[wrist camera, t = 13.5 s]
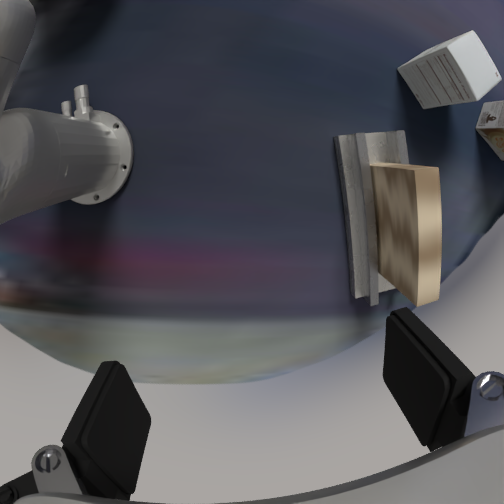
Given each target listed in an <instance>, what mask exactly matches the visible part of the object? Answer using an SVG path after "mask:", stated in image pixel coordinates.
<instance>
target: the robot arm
mask: <svg viewBox="0 0 504 504" xmlns="http://www.w3.org/2000/svg"><path fill="white" fill-rule="evenodd" d="M35 24H36V13H35V10H34V7H33V6H32V4H31V3H30V2H29V0H0V224H2V223H4V222H6V221H8V220H11V219H13V218H15V217H18V216H21V215H23V214H26V213H29V212H32V211H35V210H38V209H41V208H44V207H47V206H50V205H53V204H57V203H60V202H63V201H66V200H69V199H71V200H72V201H74V202H77V203H80V204H87V205H90V204H97V203H100V202H103V201H105V200H107V199H109V198H111V197H112V196H113V195H115V194H116V193H117V192H118V191H119V190H120V189H121V188H122V186H123V185H124V183H125V182H126V180H127V178H128V176H129V174H130V171H131V168H132V164H133V155H134V151H133V143H132V139H131V135H130V133H129V131H128V129H127V127H126V126H125V125H124V124H123V122H122V121H121V120H120V119H118V118H117V117H116V116H114V115H112V114H110V113H107V112H104V111H98V110H93V107H91V106H89V93H88V86H87V85H81V86H78V87H76V88H74V96H75V102H76V108H77V110H75V112H74V114H75V117H72V111H71V110H72V107H71V101H65V102H63V103H62V104H61V108H62V113H63V115H61V114H56V113H51V112H45V111H40V110H35V109H29V108H14V109H9V110H6V111H3V110H4V107H5V104H6V101H7V98H8V95H9V93H10V90H11V87H12V85H13V82H14V79H15V77H16V74H17V72H18V70H19V67H20V64H21V62H22V60H23V57H24V55H25V53H26V51H27V48H28V46H29V43H30V41H31V39H32V36H33V33H34V29H35ZM118 125H119V128H118V129H117V126H118ZM125 165H126V166H127V169H125V168H124V166H125ZM98 195H99V198H98ZM383 379H384V382H385V384H386V385H387V387H388V389H389V390H390V392H391V394H392V395H393V397H394V399H395V400H396V402H397V404H398V405H399V407H400V408H401V410H402V412H403V414H404V415H405V417H406V419H407V421H408V422H409V424H410V426H411V427H412V429H413V431H414V433H415V434H416V436H417V437H418V439H419V441H420V443H421V444H422V445H423V446H426V445H427V447H428V448H429V450H430V452H431V453H428V454H426V455H424V456H422V457H419V458H417V459H414V460H412V461H409V462H407V463H404V464H401V465H399V466H396V467H393V468H391V469H388V470H385V471H382V472H379V473H376V474H373V475H371V476H367V477H364V478H361V479H358V480H354V481H351V482H347V483H344V484H340V485H336V486H332V487H328V488H324V489H320V490H315V491H311V492H306V493H301V494H296V495H290V496H284V497H277V498H271V499H263V500H255V501H246V502H233V503H218V504H504V375H503V374H501V373H499V372H494V371H493V372H485V373H481V374H480V375H479V376H477V377H475V376H474V375H473V373H472V372H471V371H470V370H469V369H468V368H467V367H466V366H465V365H464V364H463V363H462V362H461V361H460V360H459V358H458V357H457V356H456V355H455V354H454V353H453V352H452V351H451V350H450V349H449V348H448V347H447V346H446V345H445V344H444V343H443V342H442V341H441V340H440V339H439V338H438V337H437V336H436V335H435V334H434V333H433V332H432V331H431V330H430V329H429V328H428V327H427V326H426V325H425V324H424V323H423V322H422V321H421V320H420V319H419V318H418V317H417V316H416V315H415V314H413V312H412V311H410V310H409V309H408V308H407V307H404V308H401V309H398V310H394V311H392V312H391V313H390V316H388V317H387V319H386V337H385V353H384V366H383ZM150 426H151V417H150V414H149V412H148V410H147V409H146V407H145V405H144V403H143V401H142V399H141V398H140V396H139V394H138V392H137V390H136V388H135V386H134V384H133V382H132V380H131V378H130V376H129V374H128V372H127V370H126V368H125V366H124V365H122V364H120V363H119V362H118V361H105V362H102V363H101V365H100V367H99V368H98V370H97V372H96V374H95V376H94V378H93V379H92V381H91V383H90V385H89V387H88V388H87V390H86V392H85V394H84V396H83V398H82V400H81V402H80V404H79V405H78V407H77V409H76V411H75V413H74V415H73V417H72V419H71V421H70V423H69V425H68V427H67V429H66V431H65V433H64V435H63V437H62V439H61V442H62V443H63V446H62V448H61V447H59V446H57V445H48V446H44V447H43V448H41V449H39V450H38V451H37V452H36V453H35V455H34V457H33V459H32V471H30V472H28V473H26V474H24V475H22V476H20V477H18V478H16V479H14V480H12V481H10V482H8V483H6V484H4V485H2V486H1V487H0V504H164V503H147V502H135V501H129V500H130V495H131V494H133V493H134V492H135V488H136V484H137V479H138V475H139V470H140V466H141V462H142V458H143V454H144V450H145V445H146V441H147V437H148V433H149V429H150ZM440 447H442V448H440ZM438 448H439V449H438ZM436 449H437V450H436ZM434 450H435V451H434ZM432 451H433V452H432ZM117 499H118V500H117Z"/></svg>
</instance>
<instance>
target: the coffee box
mask: <svg viewBox="0 0 504 504" xmlns="http://www.w3.org/2000/svg"><path fill="white" fill-rule="evenodd" d="M476 130H477V132H478V133H479V134H480V135H481V136H482V137H483V138H484V140H485V141H486V142H487V143H488V144H489V146H490V147H491V148H492V149H493V150H494V152H495V153H496V154H497V155H498V157H499V158H500V159H501V160H502V161H504V101H495V102H486V103H484V104H483V107H482V110H481V113H480V116H479V119H478V122H477V125H476Z"/></svg>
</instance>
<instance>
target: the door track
mask: <svg viewBox="0 0 504 504" xmlns="http://www.w3.org/2000/svg"><path fill="white" fill-rule="evenodd" d="M334 143H335V149H336V155H337V162H338V168H339V176H340V183H341V190H342V198H343V207H344V216H345V225H346V235H347V247H348V259H349V273H350V290H351V294H352V295H353V296H354V297H355V298H359V297H363V298H364V299H365V300H366V301H367V303H368V304H369V305H370V306H373V305H377V304H379V292H383V291H387V290H391V289H395V287H394V286H393V285H392V284H391V283H390V282H389V281H387V280H386V279H385V278H384V277H383V276H382V275H380V274H379V273H378V253H377V234H376V220H375V208H374V197H373V188H372V179H371V171H370V164H376V163H396V164H408V165H409V160H408V152H407V144H406V137H405V131H404V130H400V131H390V132H378V133H355V134H350V135H342V136H335V137H334Z"/></svg>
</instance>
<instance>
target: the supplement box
mask: <svg viewBox="0 0 504 504" xmlns="http://www.w3.org/2000/svg"><path fill="white" fill-rule="evenodd" d="M397 70H398V71H399V73H400V74H401V76H402V77H403V79H404V80H405V82H406V83H407V85H408V86H409V88H410V89H411V91H412V92H413V94H414V95H415V97H416V98H417V100H418V102H419V103H420V105H421V106H422V108H423V109H428V108H434V107H439V106H446V105H452V104H459V103H466V102H473V101H478V100H479V99H481V98H482V97H483V96H484V95H485V94H486V93H487V92H488V91H490V90H491V89H492V88H493V87H494V86H495V85H496V84H497V83H498V82H499V81H501V80H502V78H501V76H500V74H499V72H498V70H497V68H496V66H495V65H494V63H493V61H492V59H491V57H490V56H489V54H488V52H487V51H486V49H485V47H484V46H483V44H482V43H481V41H480V39H479V38H478V36H477V35H476V33H475V32H474V31H473V30H472V31H470V32H467V33H465V34H462V35H460V36H458V37H455V38H453V39H451V40H448V41H446V42H444V43H441V44H439V45H437V46H434V47H432V48H430V49H428V50H426V51H424V52H422V53H421V54H420V55H418V56H416V57H415V58H413V59H412V60H410V61H409V62H407V63H405V64H404V65H402V66H400V67H399V68H397Z"/></svg>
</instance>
